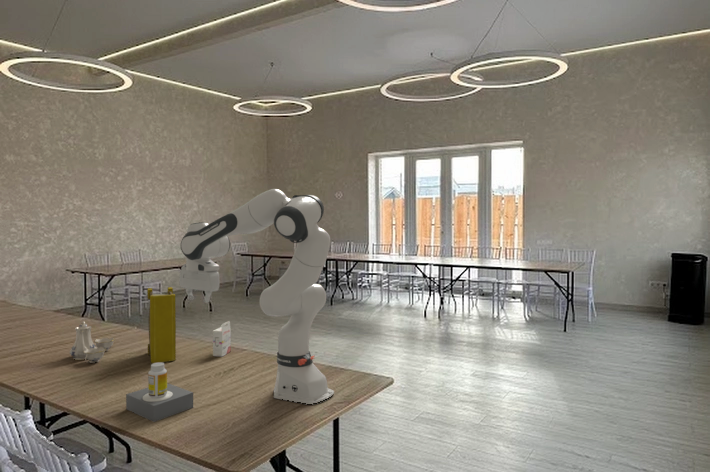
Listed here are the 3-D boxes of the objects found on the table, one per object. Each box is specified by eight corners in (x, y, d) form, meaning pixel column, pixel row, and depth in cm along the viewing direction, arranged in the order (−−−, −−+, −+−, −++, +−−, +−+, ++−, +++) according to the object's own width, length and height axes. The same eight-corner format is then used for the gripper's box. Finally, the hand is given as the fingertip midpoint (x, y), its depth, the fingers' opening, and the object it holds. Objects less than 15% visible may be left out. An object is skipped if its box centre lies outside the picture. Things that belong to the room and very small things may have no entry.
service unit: (193, 407, 156) (193, 391, 156) (153, 422, 144) (153, 405, 144) (164, 395, 165) (164, 381, 165) (125, 408, 154) (125, 392, 154)
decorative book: (176, 361, 205) (176, 292, 204) (149, 364, 200) (148, 294, 199) (172, 349, 223) (172, 286, 222) (147, 352, 218) (146, 287, 217)
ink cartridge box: (221, 351, 221) (221, 320, 221) (231, 351, 220) (231, 320, 220) (212, 356, 213) (212, 323, 213) (222, 357, 212) (222, 324, 212)
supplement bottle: (169, 391, 155) (169, 361, 155) (164, 398, 149) (164, 366, 149) (151, 392, 154) (151, 361, 154) (146, 399, 149) (145, 367, 148)
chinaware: (106, 368, 201) (110, 329, 201) (61, 368, 195) (65, 328, 194) (114, 350, 227) (118, 316, 227) (74, 350, 221) (78, 314, 221)
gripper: (174, 264, 183) (174, 299, 183) (208, 267, 171) (208, 305, 171) (188, 263, 188) (189, 297, 188) (222, 266, 176) (222, 302, 176)
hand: (198, 301), depth 180 cm, fingers open, 8 cm apart
